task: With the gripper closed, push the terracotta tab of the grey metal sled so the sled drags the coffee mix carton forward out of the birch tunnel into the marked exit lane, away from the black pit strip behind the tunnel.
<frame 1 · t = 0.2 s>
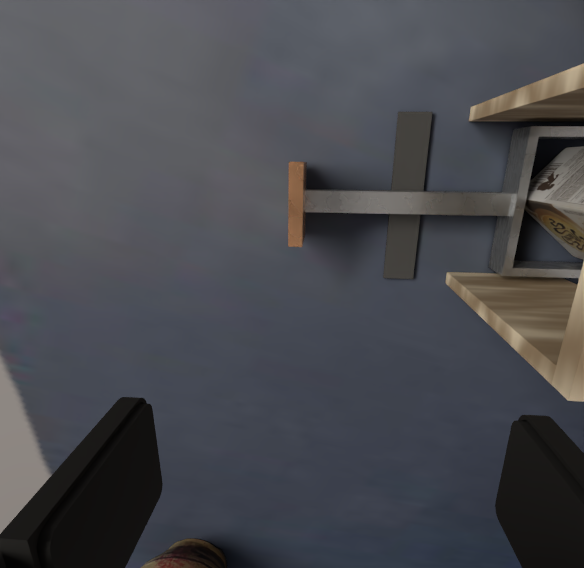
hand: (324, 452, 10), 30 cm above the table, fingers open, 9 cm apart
ceramic jug: (190, 559, 55), on the table
sled: (476, 205, 33), point 4 cm above the table, slide at 0.0 cm
tunnel: (515, 202, 36), on the table
pit strip: (405, 200, 37), on the table
coffee box: (567, 203, 36), resting in sled
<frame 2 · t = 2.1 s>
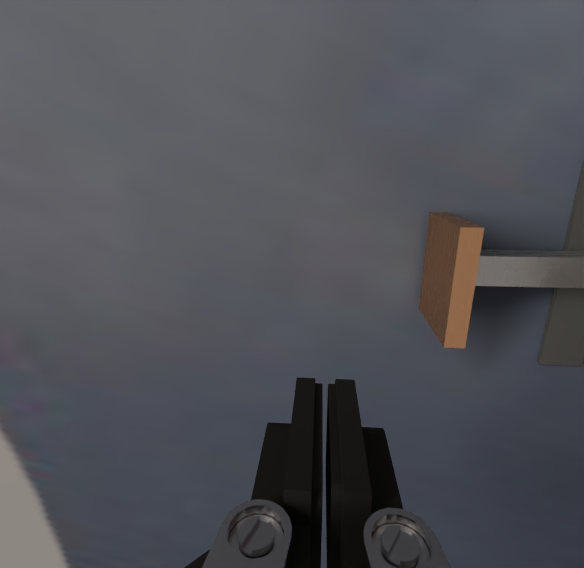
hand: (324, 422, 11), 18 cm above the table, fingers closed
pit strip: (582, 262, 26), on the table
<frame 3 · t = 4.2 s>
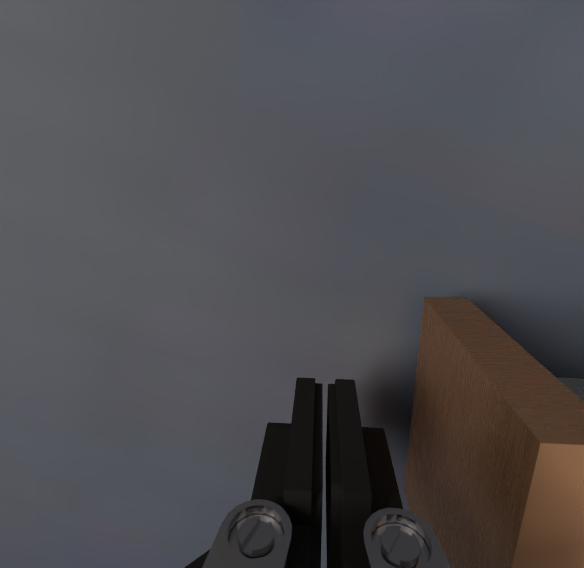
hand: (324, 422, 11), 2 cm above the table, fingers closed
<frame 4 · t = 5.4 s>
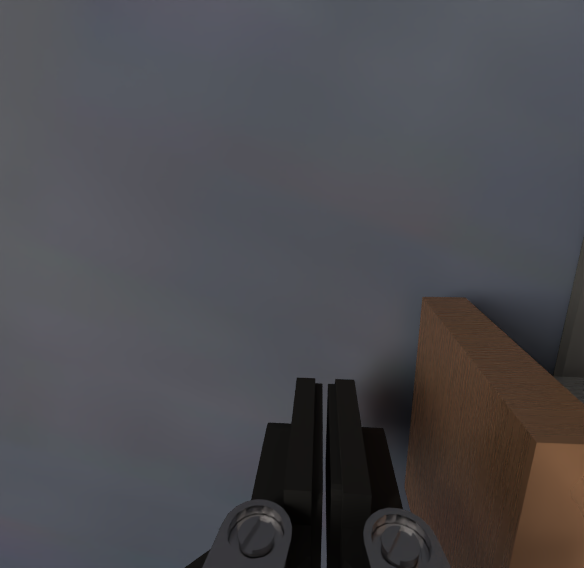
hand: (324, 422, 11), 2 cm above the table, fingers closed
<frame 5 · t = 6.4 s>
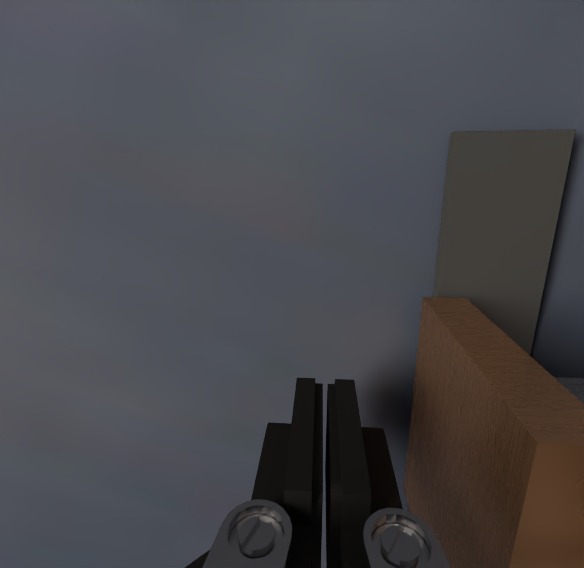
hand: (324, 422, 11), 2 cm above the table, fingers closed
pit strip: (468, 388, 12), on the table
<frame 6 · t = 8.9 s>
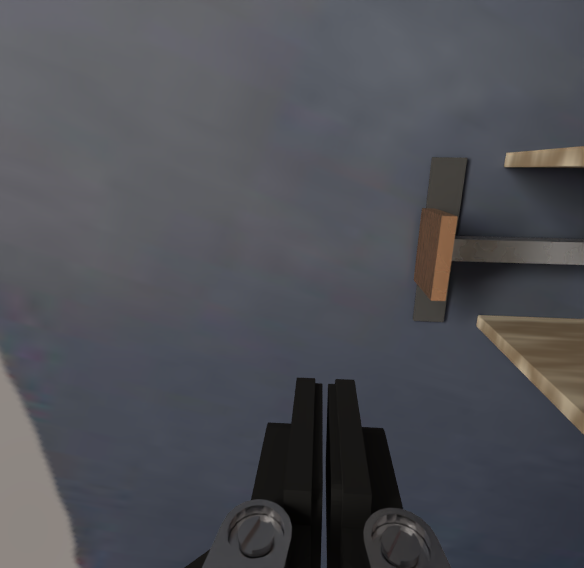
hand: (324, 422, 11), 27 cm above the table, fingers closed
tunnel: (549, 247, 35), on the table
pit strip: (437, 244, 36), on the table
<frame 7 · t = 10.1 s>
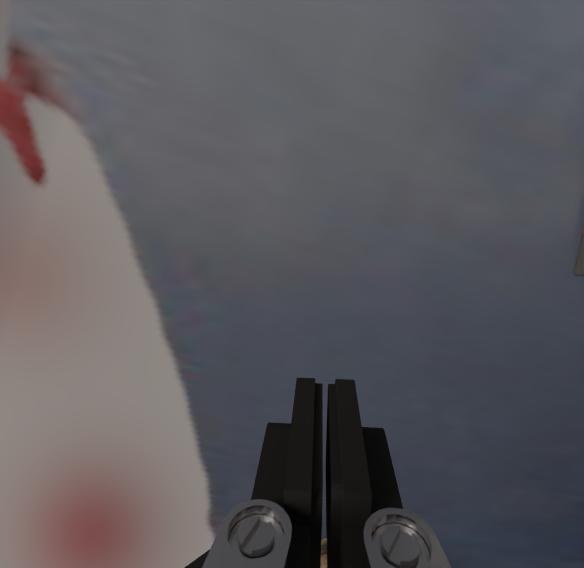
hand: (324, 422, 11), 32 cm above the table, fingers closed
ceramic jug: (335, 555, 56), on the table
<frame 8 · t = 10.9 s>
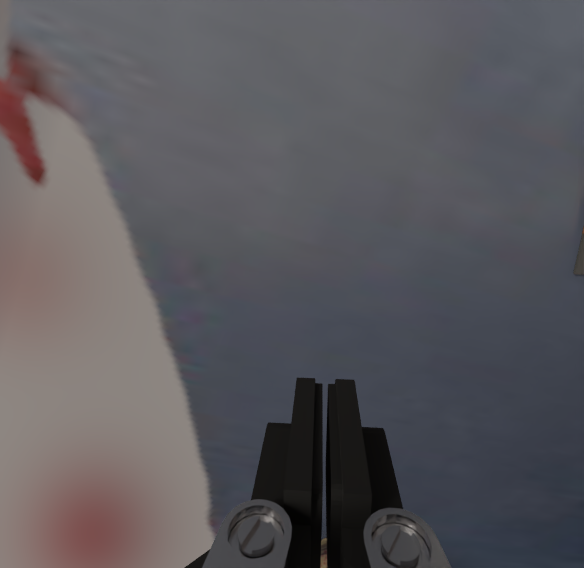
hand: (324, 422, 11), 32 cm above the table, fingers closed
ceramic jug: (335, 555, 56), on the table
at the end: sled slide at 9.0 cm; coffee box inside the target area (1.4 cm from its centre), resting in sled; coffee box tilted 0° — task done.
